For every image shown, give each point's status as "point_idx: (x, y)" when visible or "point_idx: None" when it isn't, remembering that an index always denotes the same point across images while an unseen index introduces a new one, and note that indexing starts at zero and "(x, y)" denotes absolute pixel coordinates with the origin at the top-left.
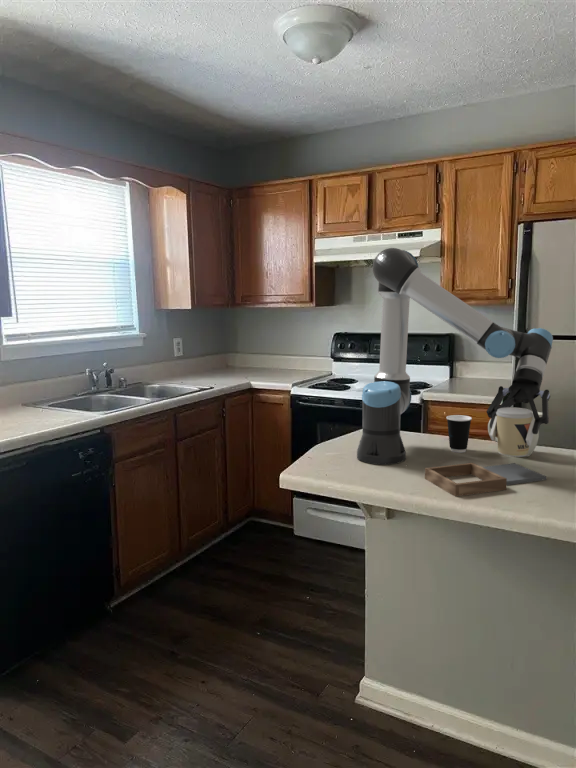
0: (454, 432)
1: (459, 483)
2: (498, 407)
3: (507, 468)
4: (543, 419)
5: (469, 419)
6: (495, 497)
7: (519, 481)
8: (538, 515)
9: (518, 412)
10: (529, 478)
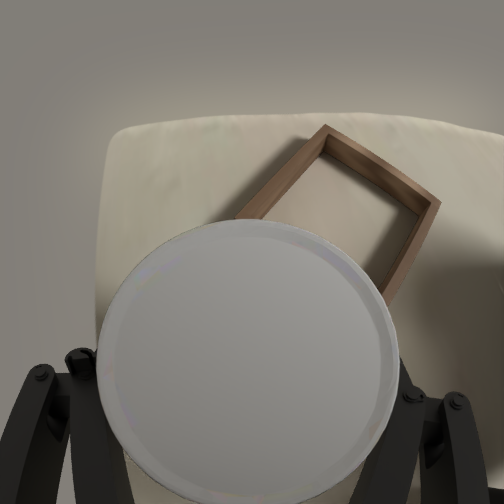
0: (496, 491)
1: (323, 135)
2: (416, 451)
3: None
4: (56, 375)
5: None
6: (245, 172)
7: None
8: (154, 133)
9: (196, 313)
10: None
